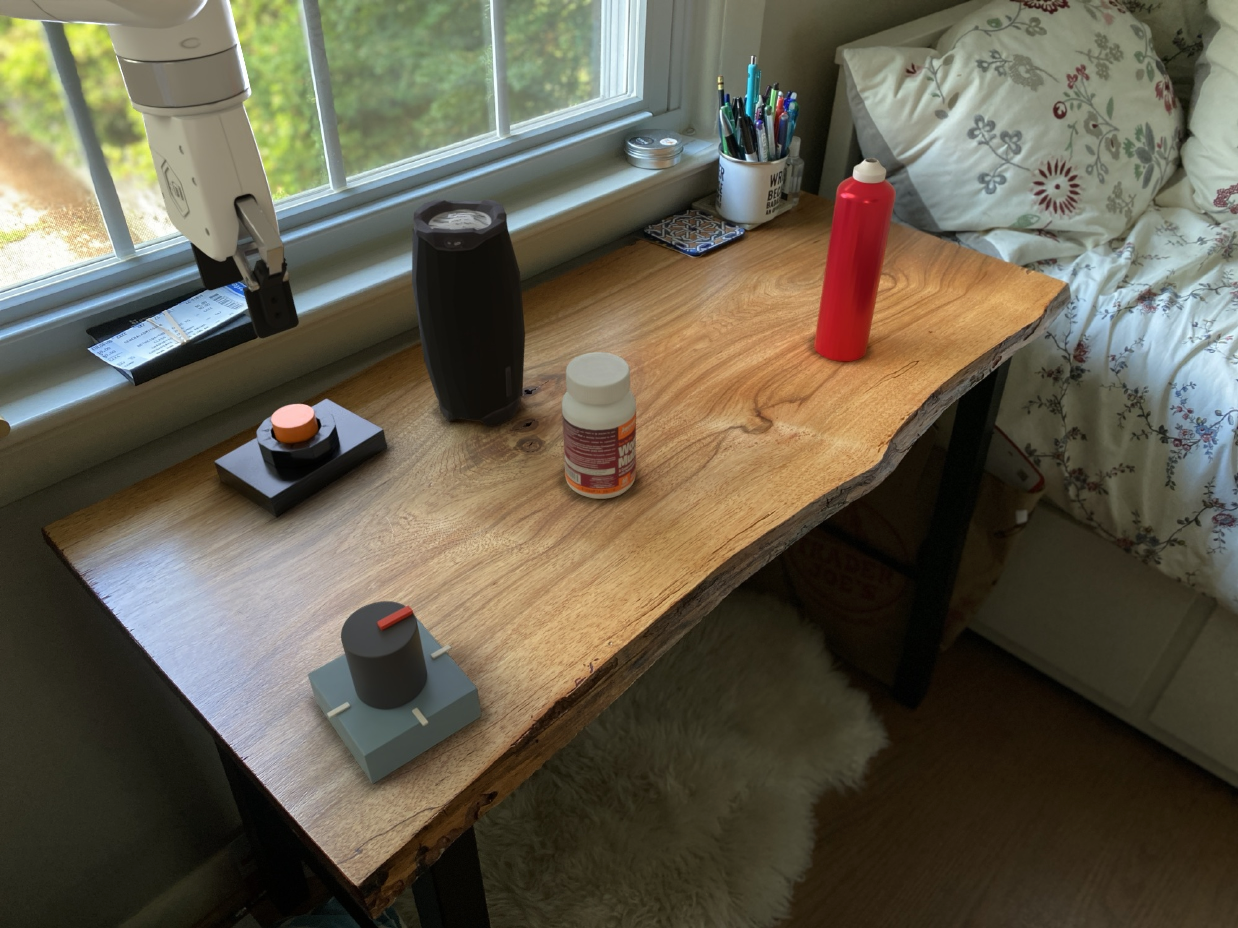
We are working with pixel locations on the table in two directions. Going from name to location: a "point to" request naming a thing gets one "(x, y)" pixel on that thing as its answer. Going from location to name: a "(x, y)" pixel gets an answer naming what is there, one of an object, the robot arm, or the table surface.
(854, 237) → the bottle
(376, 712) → the panel
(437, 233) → the portable speaker
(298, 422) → the button
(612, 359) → the pill bottle
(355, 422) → the button block
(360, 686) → the dial
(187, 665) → the table surface
